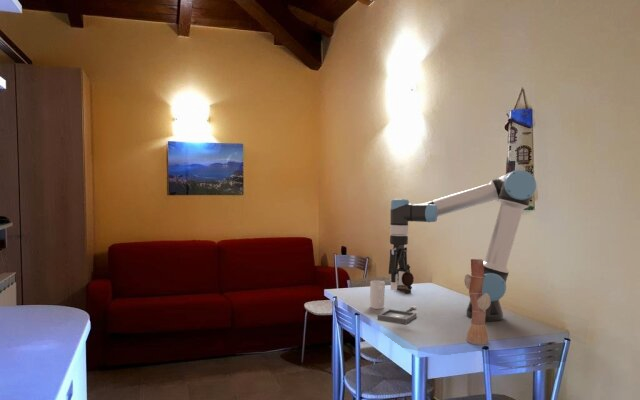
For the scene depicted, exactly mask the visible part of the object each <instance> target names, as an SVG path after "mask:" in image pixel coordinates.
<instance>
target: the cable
mask: <svg viewBox="0 0 640 400" xmlns="http://www.w3.org/2000/svg"><path fill="white" fill-rule="evenodd" d="M409 307H410V308H409V309H407V310H405V311H406V312H411V311H412V310H413V311H416V310H417V306H416V305H410V306H409Z"/></svg>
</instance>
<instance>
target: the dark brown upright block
mask: <svg viewBox="0 0 640 400" xmlns="http://www.w3.org/2000/svg"><path fill="white" fill-rule="evenodd" d="M410 269H411V266H410V265H409V264H408V263H407V272H410V273H411V271H410ZM399 271H400V269H399V268H398V269H397V275H398V280H397V283H398V282H399ZM405 272H406V271H405ZM408 288H409V289H411V290H405V291H403V293H404V292H405V293H404V294H411V293H412V289H413V286H412V285H411V286H408ZM399 291H400V292H402V291H401V290H399Z"/></svg>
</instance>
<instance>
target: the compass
mask: <svg viewBox="0 0 640 400" xmlns="http://www.w3.org/2000/svg"><path fill="white" fill-rule="evenodd" d="M414 279H415V277H414V275H413V273H411V271H410V272H405V273H403V275H402V283H403V284H404V285H398V284H397V290H396V291H400V290H401V291H400V292H402V291H405V290H411V291H412V289H409V288H408V286H411V287H412V286H413V283H414Z"/></svg>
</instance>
